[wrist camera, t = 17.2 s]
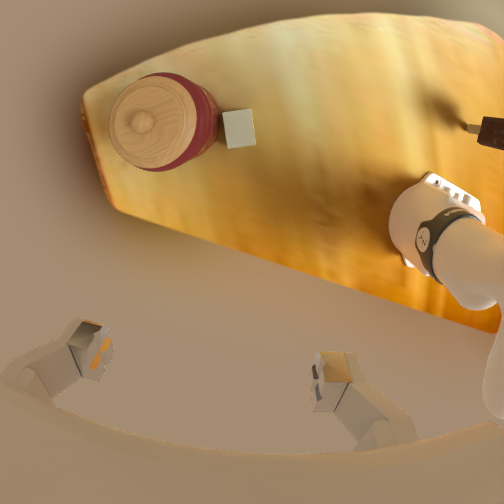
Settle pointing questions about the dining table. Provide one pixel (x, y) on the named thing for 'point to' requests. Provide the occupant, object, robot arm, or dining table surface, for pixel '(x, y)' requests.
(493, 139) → the ice cream bar
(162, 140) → the canister
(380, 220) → the dining table surface
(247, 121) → the sage block
